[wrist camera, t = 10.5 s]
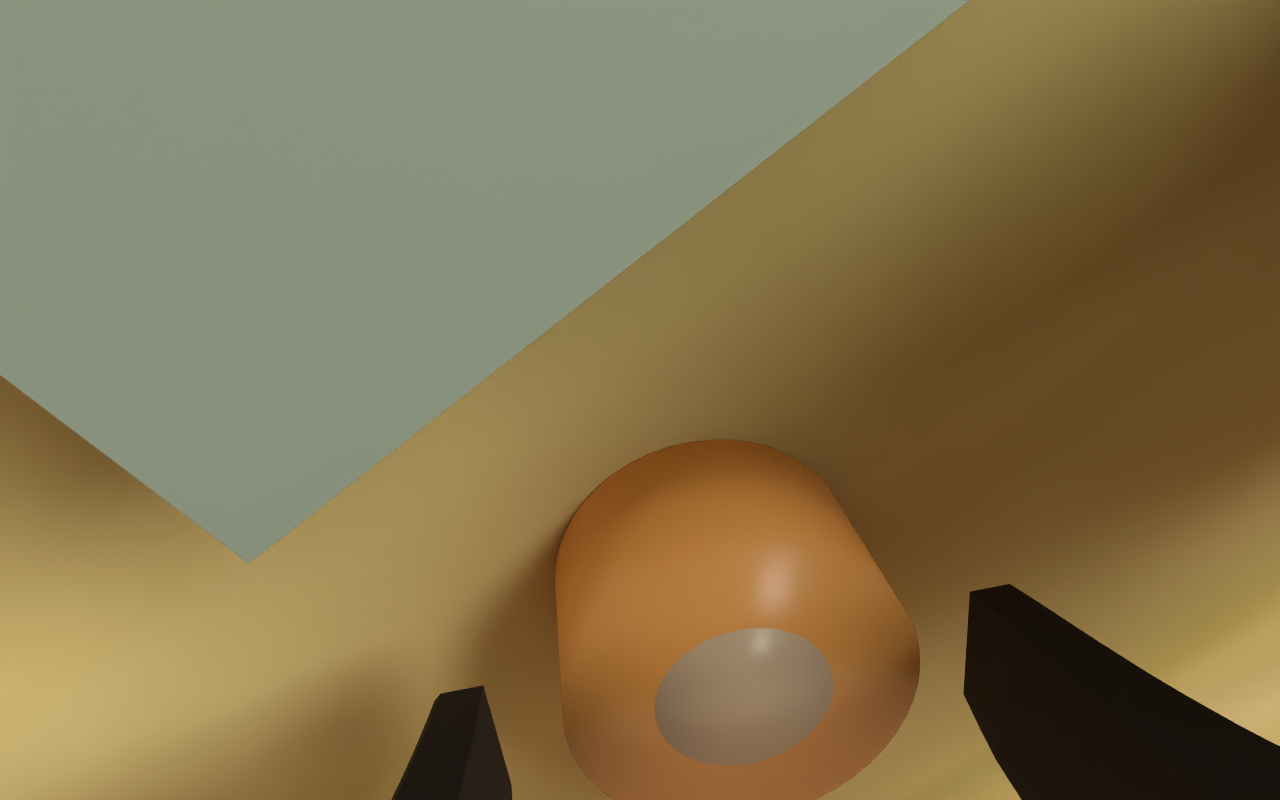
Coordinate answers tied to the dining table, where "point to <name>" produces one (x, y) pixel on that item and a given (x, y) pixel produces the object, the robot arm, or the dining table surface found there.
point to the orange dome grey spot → (725, 631)
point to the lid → (358, 206)
